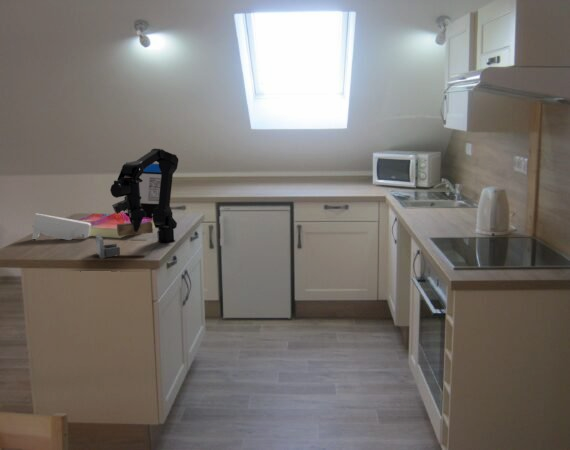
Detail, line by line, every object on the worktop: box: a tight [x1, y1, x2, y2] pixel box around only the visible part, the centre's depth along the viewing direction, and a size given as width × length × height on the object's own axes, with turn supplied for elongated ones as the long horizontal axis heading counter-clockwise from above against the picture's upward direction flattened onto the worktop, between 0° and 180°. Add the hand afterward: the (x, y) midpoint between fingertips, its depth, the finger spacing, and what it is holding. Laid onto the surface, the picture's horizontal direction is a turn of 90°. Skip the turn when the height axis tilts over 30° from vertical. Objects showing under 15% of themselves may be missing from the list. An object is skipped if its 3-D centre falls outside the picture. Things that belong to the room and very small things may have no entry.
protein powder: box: [125, 162, 161, 220], centre depth 329 cm, size 10×24×30 cm, turn 67°
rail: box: [117, 222, 154, 236], centre depth 264 cm, size 14×4×4 cm, turn 112°
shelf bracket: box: [31, 213, 91, 241], centre depth 289 cm, size 6×25×13 cm, turn 92°
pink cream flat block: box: [77, 211, 156, 239], centre depth 305 cm, size 38×25×10 cm
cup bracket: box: [94, 234, 121, 260], centre depth 261 cm, size 8×10×8 cm
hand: (135, 230), depth 265 cm, fingers closed on rail, 4 cm apart
